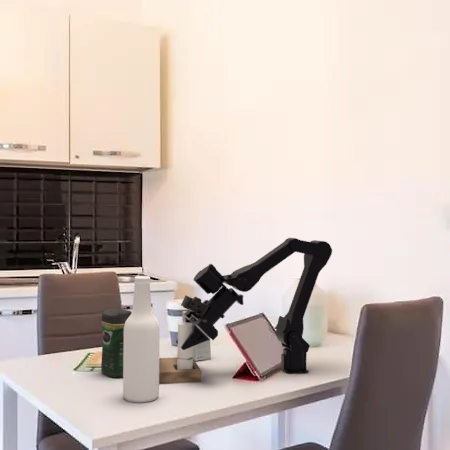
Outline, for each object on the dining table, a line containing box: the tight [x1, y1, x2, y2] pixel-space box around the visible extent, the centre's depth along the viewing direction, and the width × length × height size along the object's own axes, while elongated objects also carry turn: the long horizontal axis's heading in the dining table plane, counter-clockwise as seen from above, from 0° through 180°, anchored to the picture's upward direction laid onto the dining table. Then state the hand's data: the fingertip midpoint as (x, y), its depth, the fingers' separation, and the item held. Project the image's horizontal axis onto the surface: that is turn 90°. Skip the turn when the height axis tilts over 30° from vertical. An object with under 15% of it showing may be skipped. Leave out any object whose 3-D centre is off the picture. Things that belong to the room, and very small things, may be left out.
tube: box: [176, 321, 193, 370], centre depth 163 cm, size 4×4×15 cm
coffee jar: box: [100, 307, 132, 378], centre depth 166 cm, size 10×8×19 cm
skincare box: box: [181, 310, 212, 362], centre depth 186 cm, size 8×6×15 cm
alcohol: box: [122, 275, 161, 404], centre depth 145 cm, size 9×9×30 cm
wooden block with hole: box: [159, 357, 202, 385], centre depth 166 cm, size 14×16×3 cm
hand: (179, 346), depth 163 cm, fingers open, 7 cm apart
